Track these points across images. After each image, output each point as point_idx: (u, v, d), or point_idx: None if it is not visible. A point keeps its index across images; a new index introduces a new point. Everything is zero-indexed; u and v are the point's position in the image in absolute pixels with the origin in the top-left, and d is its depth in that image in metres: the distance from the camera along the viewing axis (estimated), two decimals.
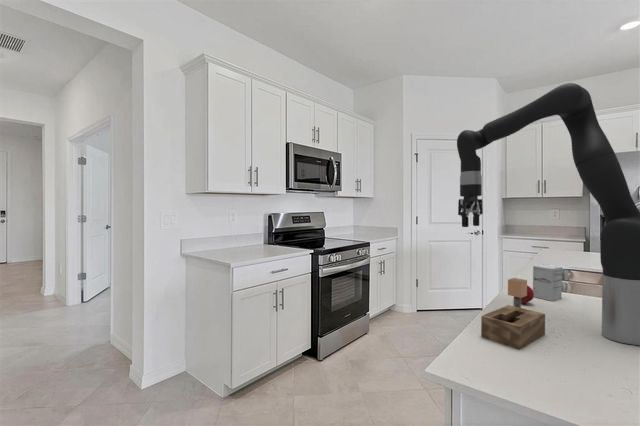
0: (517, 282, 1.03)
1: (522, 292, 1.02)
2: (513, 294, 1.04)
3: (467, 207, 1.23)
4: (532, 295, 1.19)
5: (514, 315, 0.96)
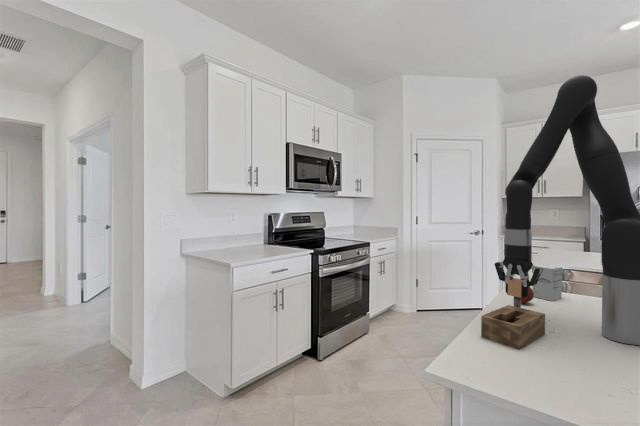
0: (517, 282, 1.03)
1: (522, 292, 1.02)
2: (513, 294, 1.04)
3: None
4: (532, 295, 1.19)
5: (514, 315, 0.96)
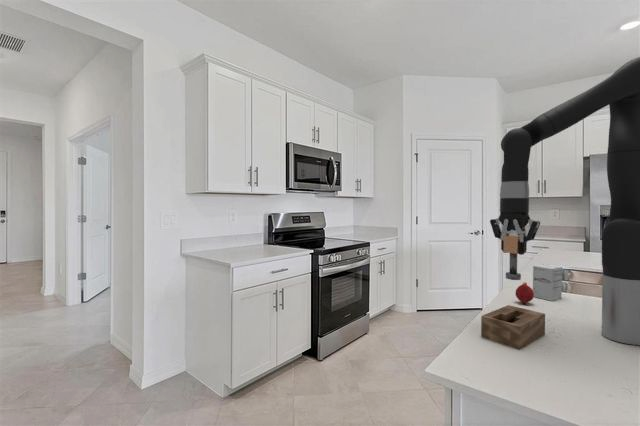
0: (513, 238, 0.97)
1: (518, 248, 0.97)
2: (509, 251, 0.99)
3: None
4: (532, 295, 1.19)
5: (514, 315, 0.96)
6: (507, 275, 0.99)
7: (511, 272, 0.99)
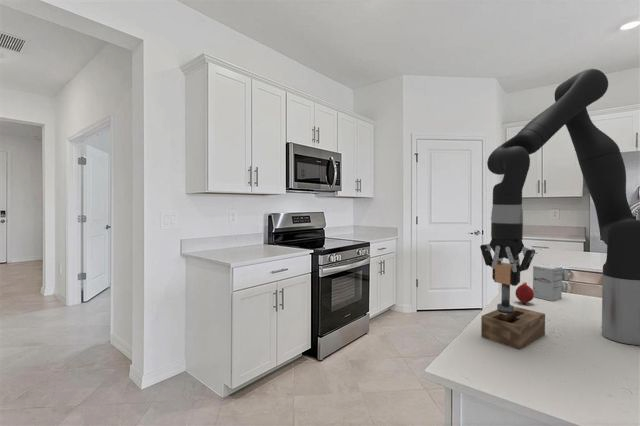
0: (506, 267, 0.88)
1: (511, 278, 0.88)
2: (501, 281, 0.89)
3: None
4: (532, 295, 1.19)
5: (514, 315, 0.96)
6: (499, 307, 0.90)
7: (503, 304, 0.90)
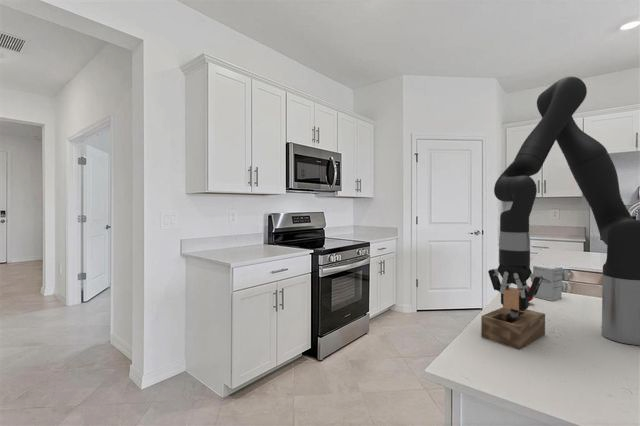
0: (514, 293, 0.90)
1: (519, 304, 0.90)
2: (509, 306, 0.91)
3: None
4: None
5: None
6: None
7: None
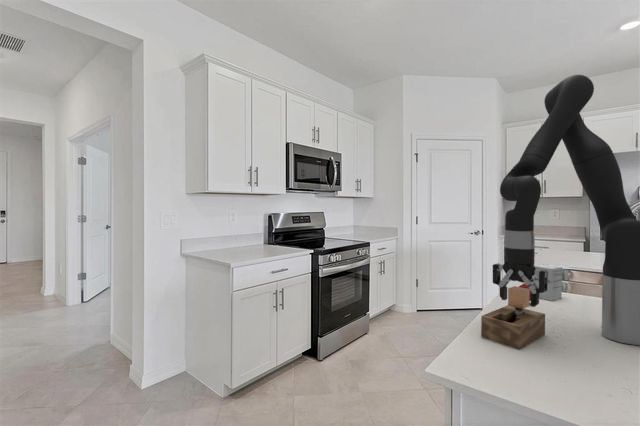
0: (519, 292, 0.92)
1: (523, 302, 0.92)
2: (514, 305, 0.94)
3: (529, 278, 0.92)
4: None
5: (514, 315, 0.96)
6: None
7: None
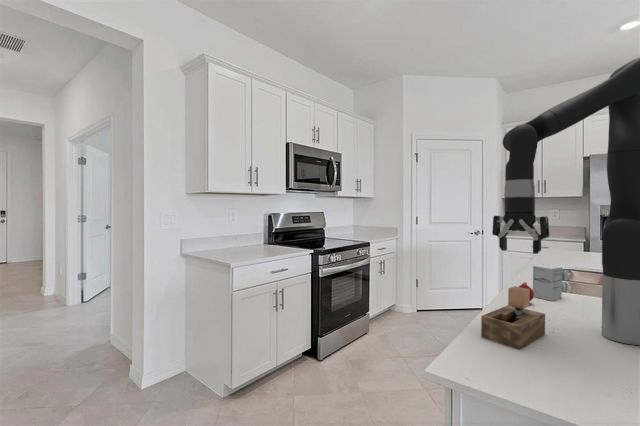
0: (519, 292, 0.92)
1: (524, 302, 0.92)
2: (514, 305, 0.94)
3: (530, 227, 0.93)
4: (532, 295, 1.19)
5: (514, 315, 0.96)
6: None
7: None
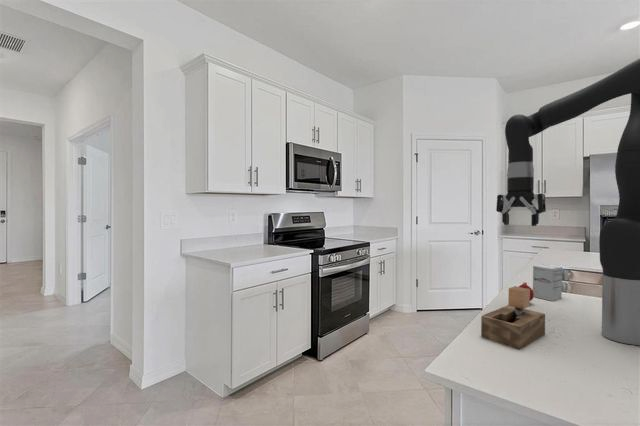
0: (519, 292, 0.92)
1: (524, 302, 0.92)
2: (514, 305, 0.94)
3: (529, 203, 1.07)
4: (532, 295, 1.19)
5: (514, 315, 0.96)
6: None
7: None
